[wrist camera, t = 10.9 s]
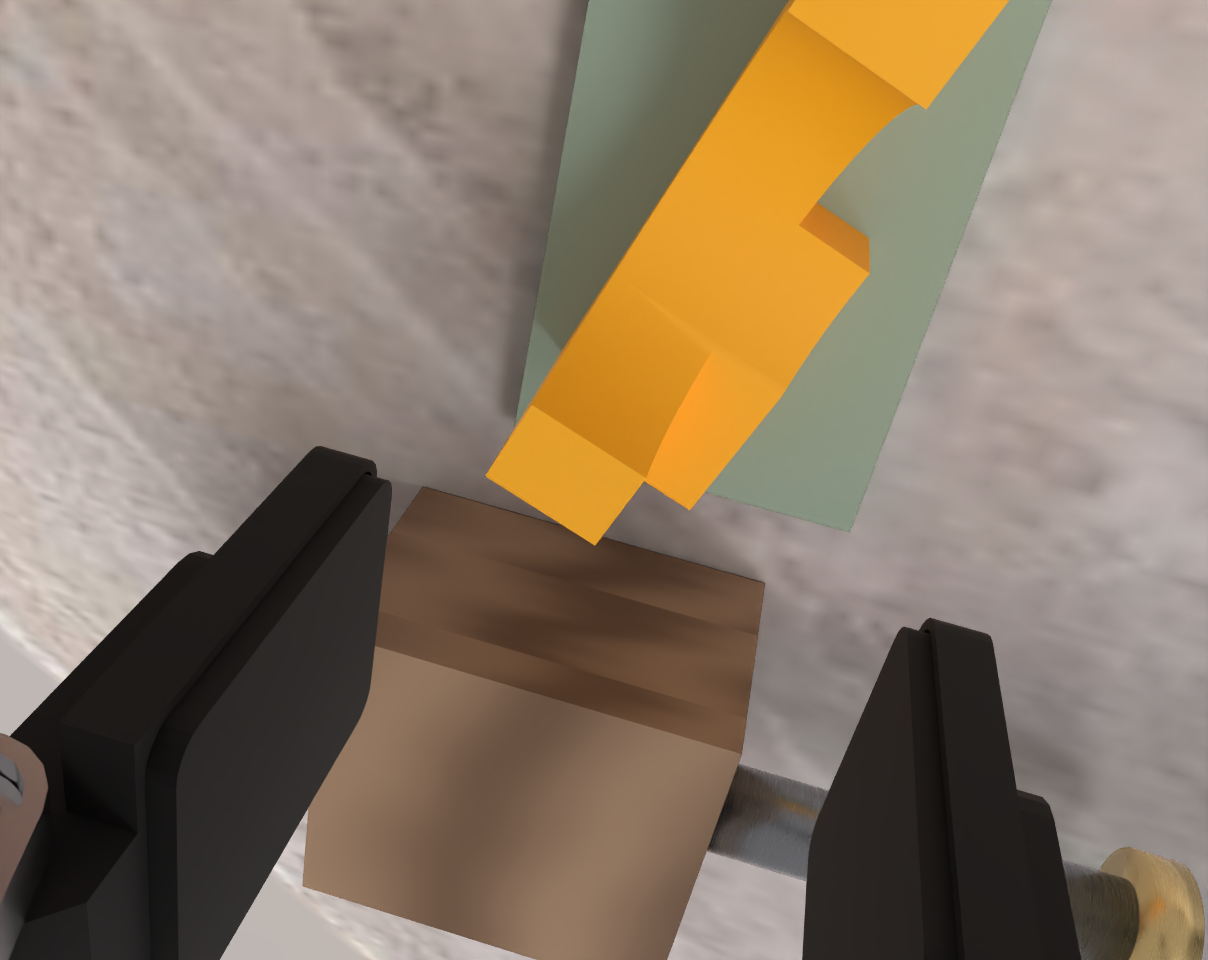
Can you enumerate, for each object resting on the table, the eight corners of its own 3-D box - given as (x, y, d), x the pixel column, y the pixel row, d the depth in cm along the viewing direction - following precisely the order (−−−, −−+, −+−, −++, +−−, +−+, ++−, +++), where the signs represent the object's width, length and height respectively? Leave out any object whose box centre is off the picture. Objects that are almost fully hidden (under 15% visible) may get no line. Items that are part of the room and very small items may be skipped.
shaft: (1179, 828, 29) (1220, 957, 26) (1114, 923, 31) (1145, 1053, 28) (628, 668, 30) (599, 771, 27) (600, 769, 32) (569, 877, 29)
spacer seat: (1090, -128, 21) (1099, -127, 20) (850, 512, 29) (849, 532, 28) (638, -231, 22) (629, -234, 21) (522, 422, 30) (512, 438, 29)
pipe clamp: (707, 445, 28) (668, 591, 22) (561, 350, 27) (485, 475, 22) (1048, 10, 22) (1111, 63, 16) (867, -122, 21) (868, -114, 16)
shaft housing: (765, 583, 31) (741, 754, 25) (688, 809, 35) (653, 996, 30) (422, 486, 31) (322, 630, 26) (392, 720, 36) (302, 886, 30)
